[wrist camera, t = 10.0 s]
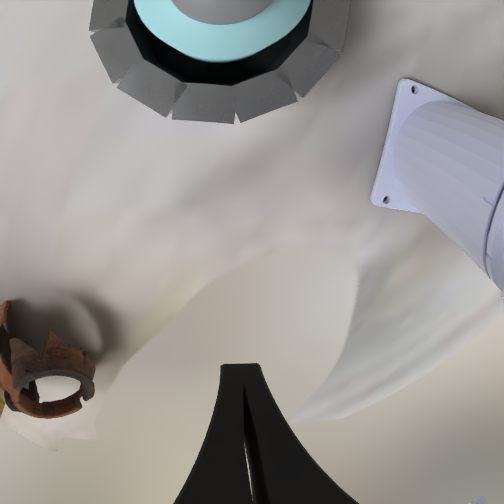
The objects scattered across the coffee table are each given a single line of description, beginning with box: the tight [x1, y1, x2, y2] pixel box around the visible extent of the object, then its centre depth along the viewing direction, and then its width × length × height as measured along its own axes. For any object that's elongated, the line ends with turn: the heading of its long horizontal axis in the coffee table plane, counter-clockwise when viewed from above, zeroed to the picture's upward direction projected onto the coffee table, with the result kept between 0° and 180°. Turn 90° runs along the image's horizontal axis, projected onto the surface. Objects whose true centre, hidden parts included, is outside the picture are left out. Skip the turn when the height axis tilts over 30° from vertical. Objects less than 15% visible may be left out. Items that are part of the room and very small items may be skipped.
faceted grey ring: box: [89, 0, 351, 124], centre depth 10 cm, size 10×10×4 cm
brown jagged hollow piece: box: [0, 301, 95, 419], centre depth 20 cm, size 12×10×8 cm
